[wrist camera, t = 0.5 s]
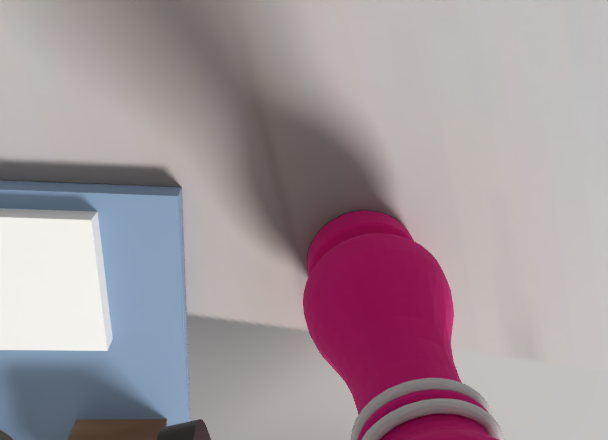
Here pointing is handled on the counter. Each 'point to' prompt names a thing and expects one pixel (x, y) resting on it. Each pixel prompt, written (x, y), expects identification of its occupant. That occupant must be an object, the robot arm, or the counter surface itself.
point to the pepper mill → (390, 332)
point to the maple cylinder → (4, 436)
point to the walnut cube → (117, 429)
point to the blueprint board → (90, 306)
